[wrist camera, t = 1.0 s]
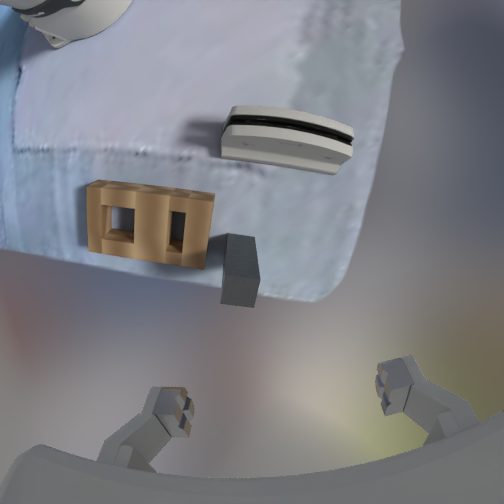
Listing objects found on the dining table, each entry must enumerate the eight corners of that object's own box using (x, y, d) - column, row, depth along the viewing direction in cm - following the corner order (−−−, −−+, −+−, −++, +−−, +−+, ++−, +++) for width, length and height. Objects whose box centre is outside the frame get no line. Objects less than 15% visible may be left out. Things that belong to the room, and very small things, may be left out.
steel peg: (224, 256, 45) (220, 303, 35) (227, 233, 44) (225, 274, 33) (249, 260, 46) (253, 307, 35) (254, 237, 44) (260, 279, 33)
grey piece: (218, 158, 39) (216, 139, 29) (223, 125, 38) (223, 98, 28) (335, 175, 40) (366, 165, 31) (337, 145, 40) (368, 127, 30)
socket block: (98, 240, 43) (88, 251, 39) (98, 179, 39) (86, 186, 35) (206, 256, 45) (203, 269, 42) (215, 193, 41) (213, 201, 37)
